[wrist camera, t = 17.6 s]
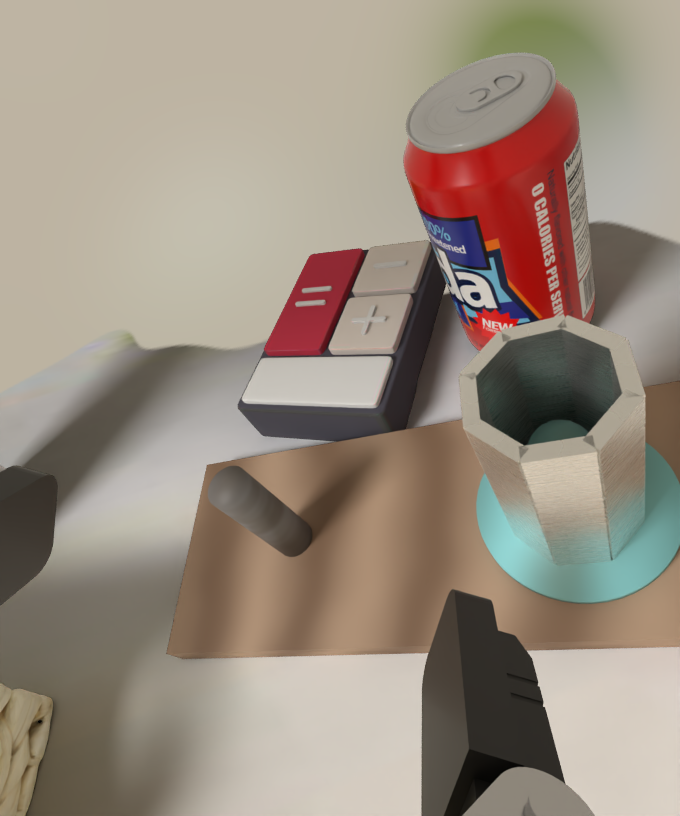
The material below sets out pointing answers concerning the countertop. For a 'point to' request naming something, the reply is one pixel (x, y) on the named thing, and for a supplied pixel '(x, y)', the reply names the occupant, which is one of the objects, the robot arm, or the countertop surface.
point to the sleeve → (563, 459)
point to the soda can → (503, 193)
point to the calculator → (348, 345)
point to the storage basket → (21, 746)
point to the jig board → (413, 551)
